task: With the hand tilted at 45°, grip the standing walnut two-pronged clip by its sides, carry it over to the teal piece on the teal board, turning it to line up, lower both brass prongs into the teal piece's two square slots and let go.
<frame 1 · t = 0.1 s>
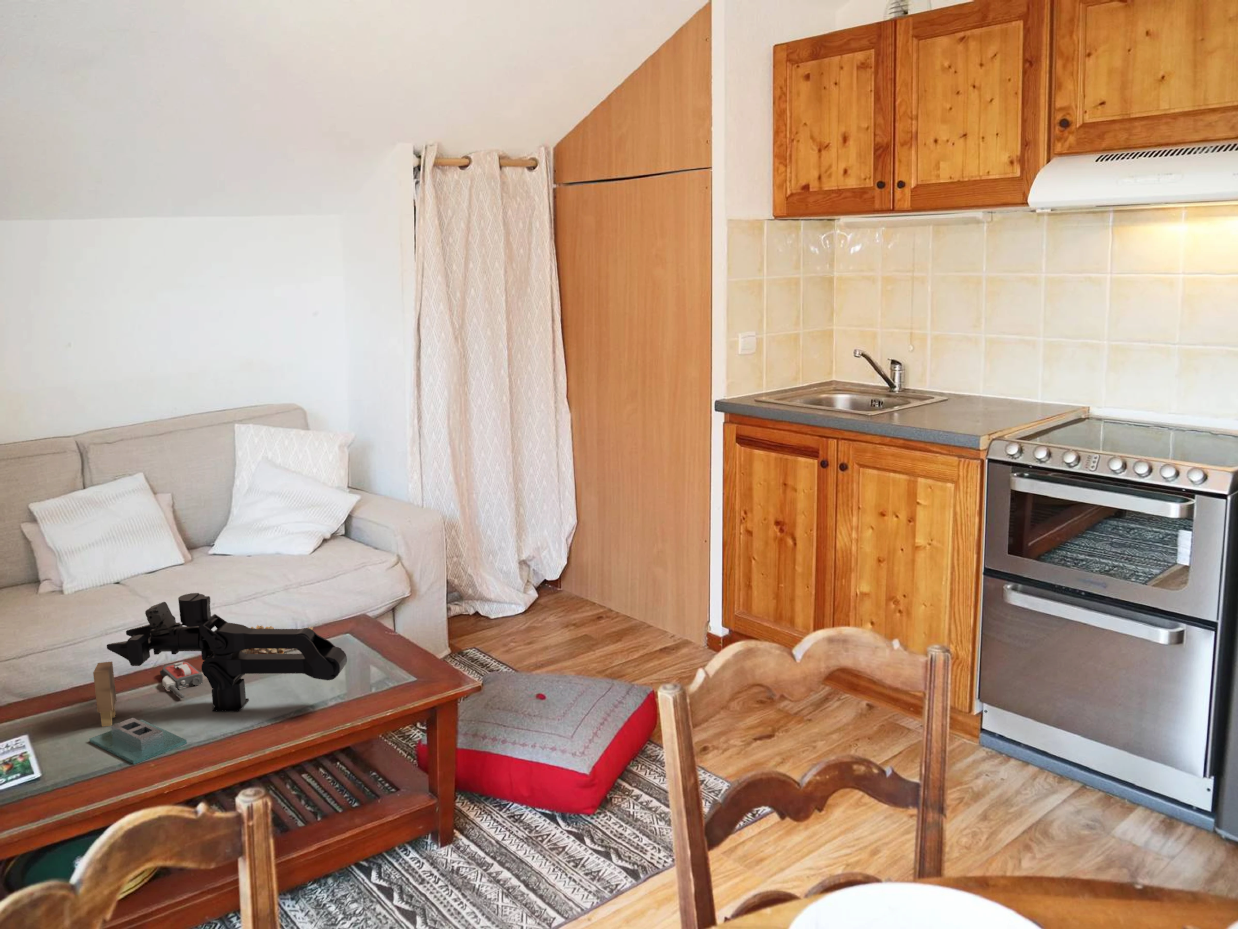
hand: (116, 639, 249), 17 cm above the table, tool horizontal, fingers open, 9 cm apart
clip: (108, 721, 244), on the table
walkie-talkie: (183, 687, 265), on the table
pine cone: (276, 658, 282), on the table
teal piece: (138, 742, 233), on the table
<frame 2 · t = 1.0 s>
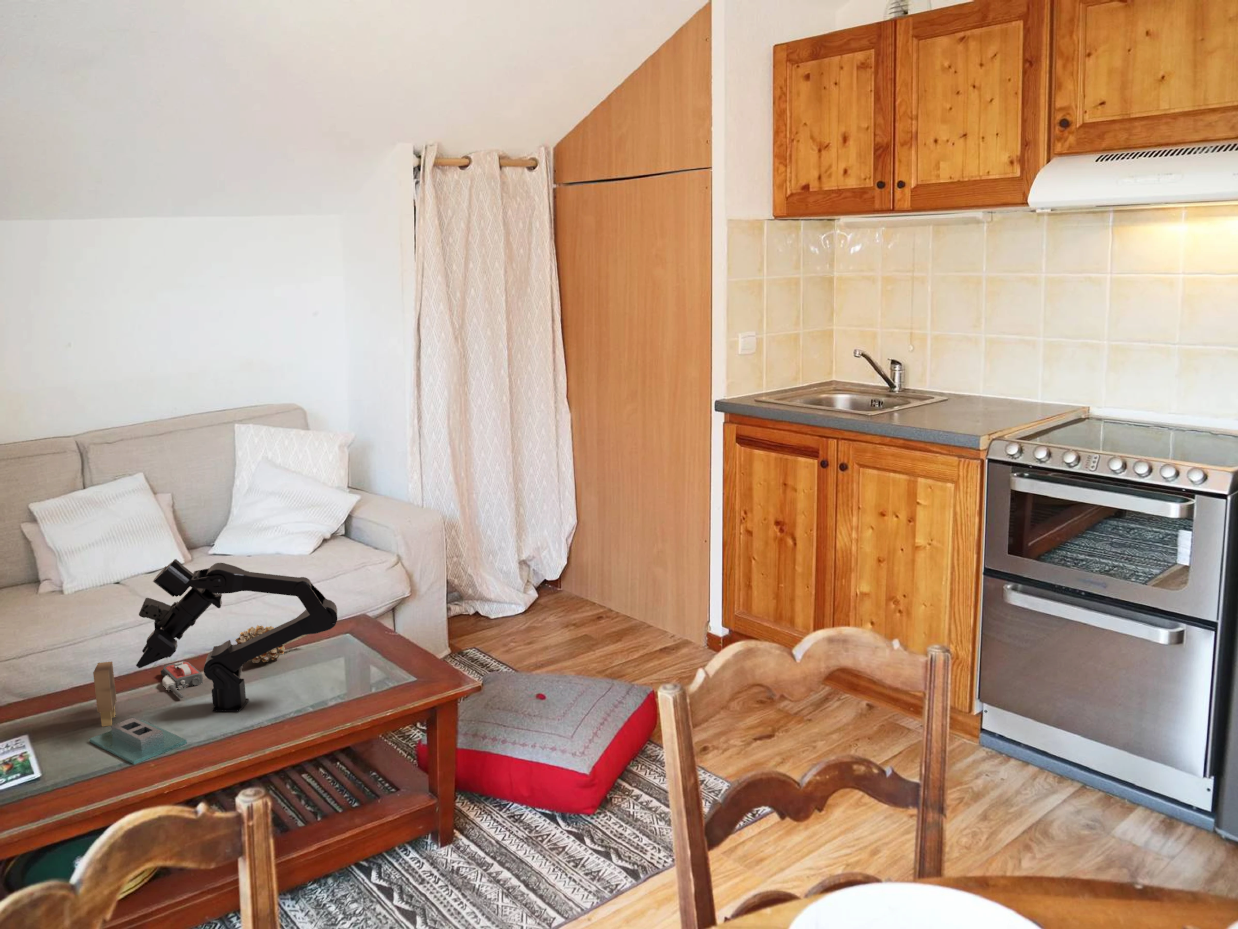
hand: (140, 659, 244), 14 cm above the table, tool tilted 45°, fingers open, 9 cm apart
nothing on the table moved.
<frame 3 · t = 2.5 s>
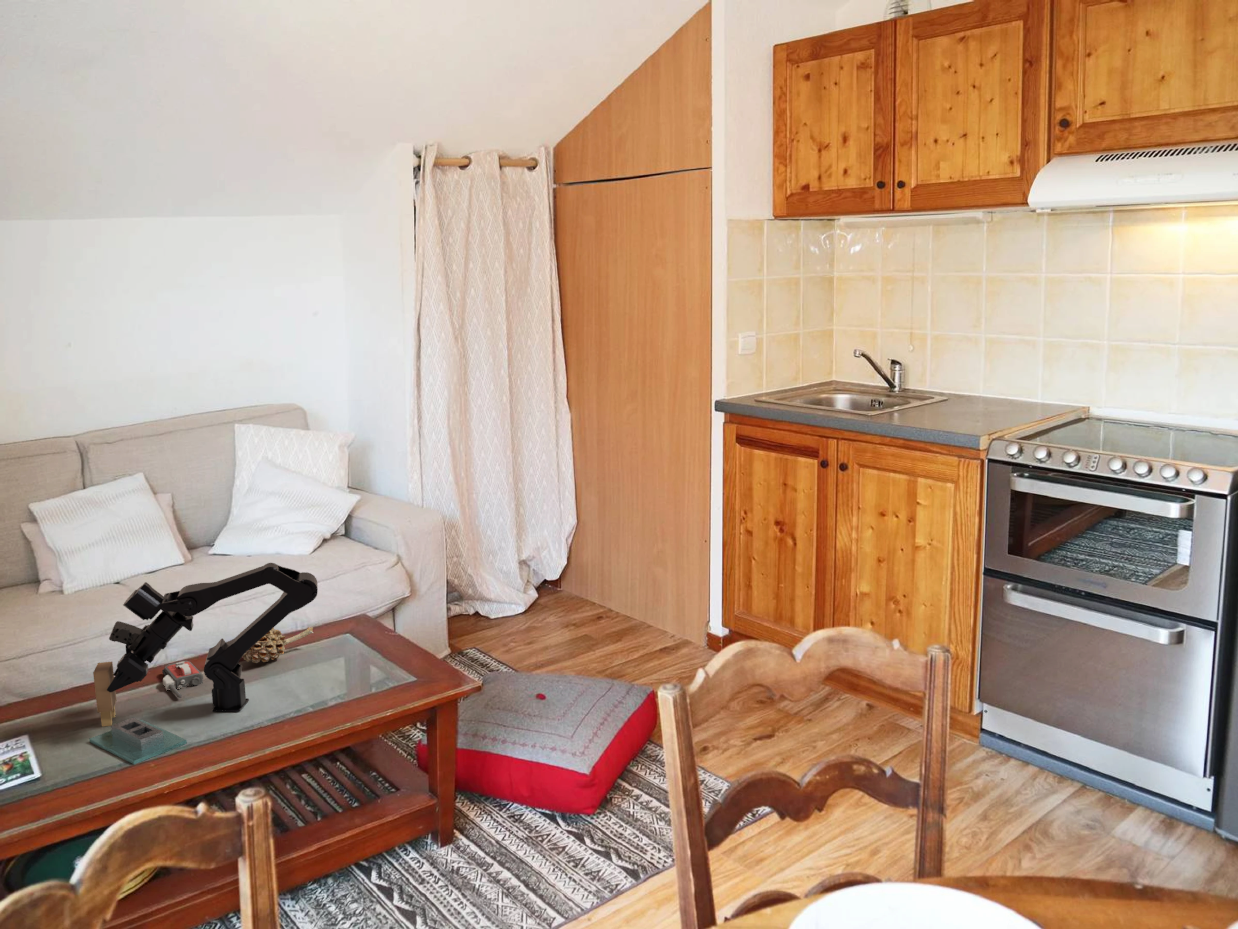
hand: (111, 683, 243), 9 cm above the table, tool tilted 45°, fingers open, 9 cm apart
nothing on the table moved.
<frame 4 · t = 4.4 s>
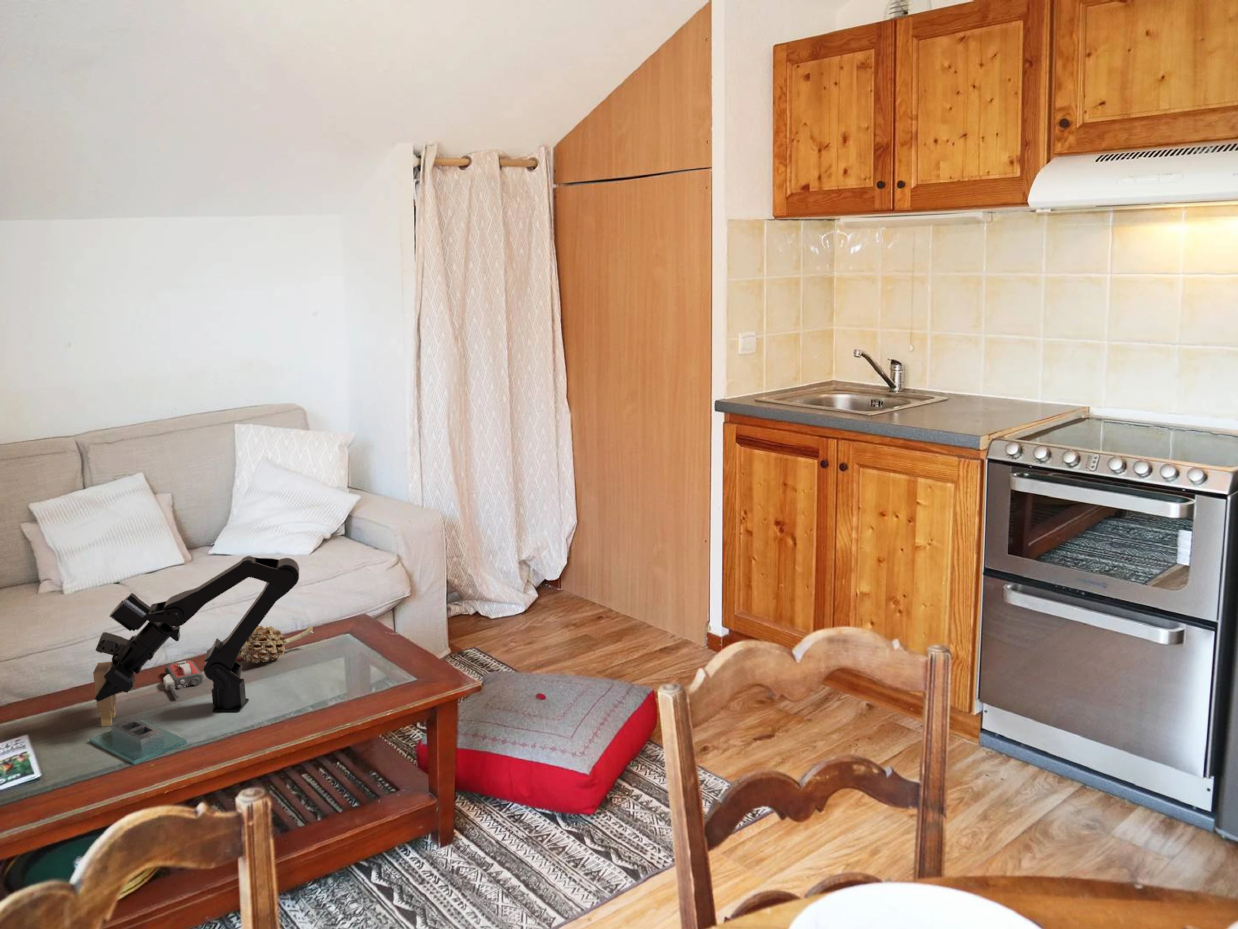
hand: (99, 694, 243), 7 cm above the table, tool tilted 45°, fingers closed on clip, 6 cm apart
clip: (108, 721, 244), on the table, touching gripper
everything else where it was.
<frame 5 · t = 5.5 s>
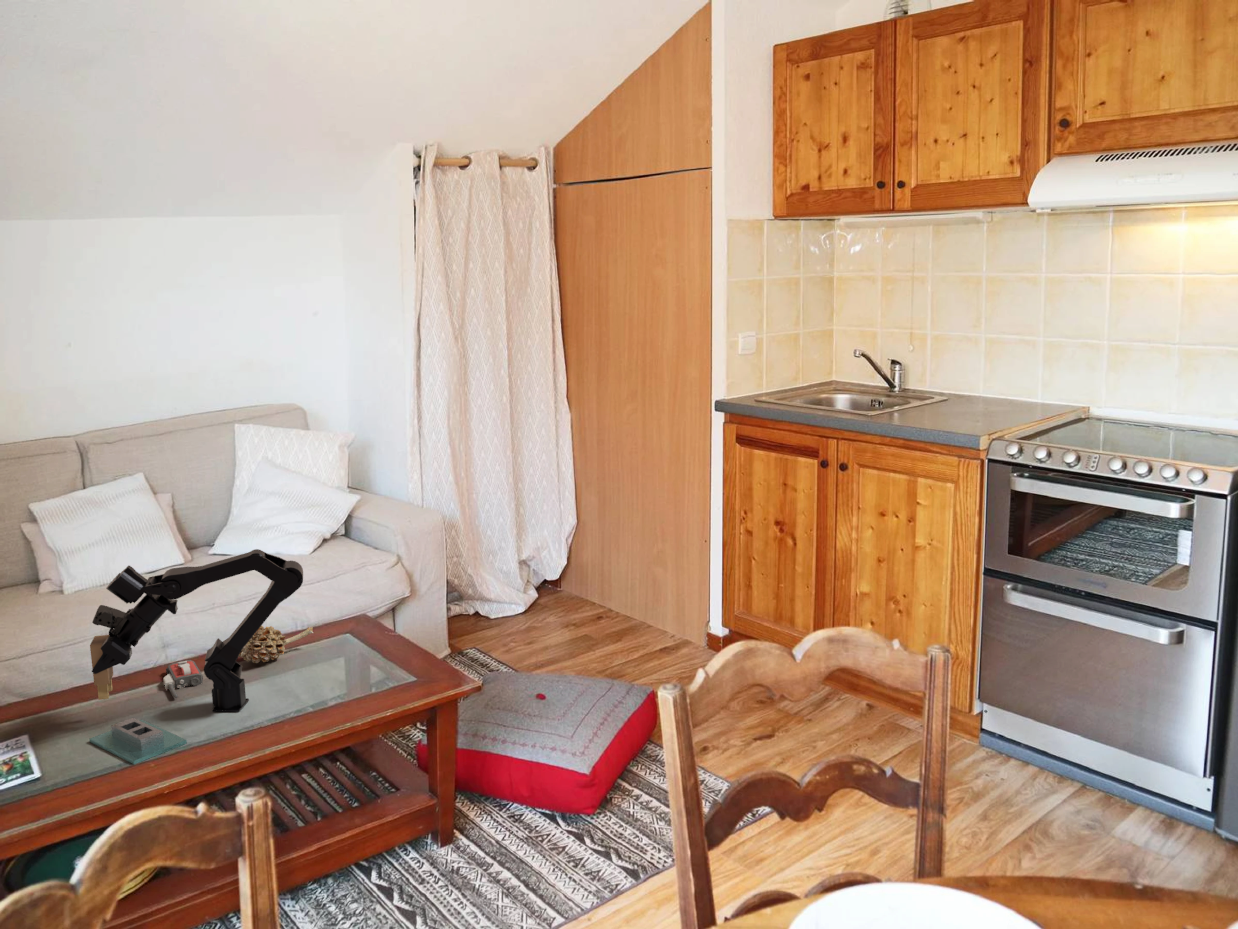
hand: (95, 667, 241), 13 cm above the table, tool tilted 45°, fingers closed on clip, 6 cm apart
clip: (105, 694, 243), point 6 cm above the table, touching gripper
everything else where it was.
when the fingers open (8 cm above the table, at t = 10.0 s): clip stays where it is, resting on teal piece.
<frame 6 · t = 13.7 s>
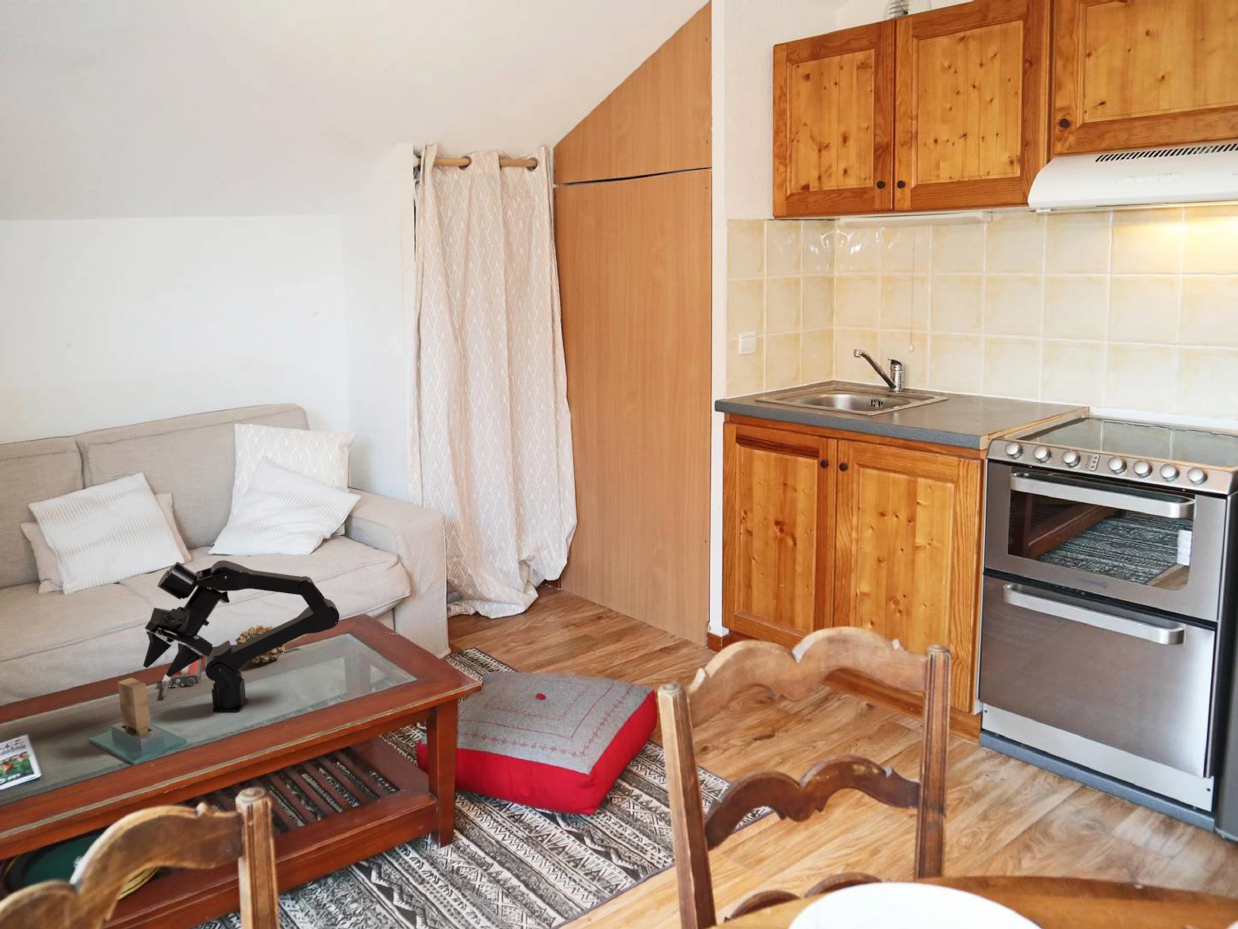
hand: (156, 671, 237), 14 cm above the table, tool tilted 45°, fingers open, 9 cm apart
clip: (137, 739, 233), point 1 cm above the table, touching teal piece
at the end: clip 0.0 cm off-centre on the teal piece, point 0.8 cm above the teal piece's base; clip tilted 0°; the gripper is holding nothing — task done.
